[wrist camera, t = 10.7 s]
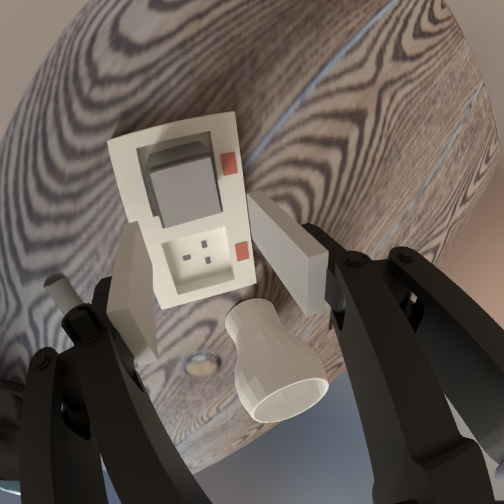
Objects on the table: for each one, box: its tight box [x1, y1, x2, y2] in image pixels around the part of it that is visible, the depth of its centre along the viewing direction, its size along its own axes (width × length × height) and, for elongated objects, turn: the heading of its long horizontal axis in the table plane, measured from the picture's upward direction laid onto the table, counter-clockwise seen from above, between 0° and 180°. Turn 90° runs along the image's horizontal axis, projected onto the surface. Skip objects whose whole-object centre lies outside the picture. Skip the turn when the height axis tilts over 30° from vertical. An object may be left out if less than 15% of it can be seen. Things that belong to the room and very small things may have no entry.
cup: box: [225, 298, 329, 423], centre depth 33 cm, size 11×11×15 cm
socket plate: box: [107, 111, 256, 309], centre depth 28 cm, size 12×20×2 cm, turn 6°
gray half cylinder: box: [44, 277, 135, 369], centre depth 32 cm, size 4×20×2 cm, turn 13°
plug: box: [145, 141, 223, 229], centre depth 22 cm, size 5×5×8 cm
